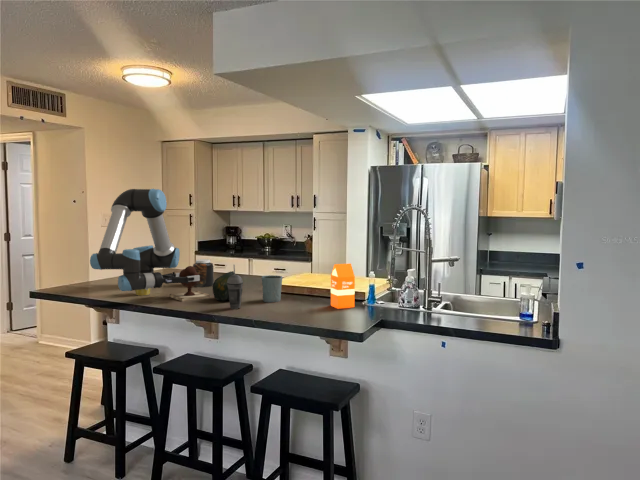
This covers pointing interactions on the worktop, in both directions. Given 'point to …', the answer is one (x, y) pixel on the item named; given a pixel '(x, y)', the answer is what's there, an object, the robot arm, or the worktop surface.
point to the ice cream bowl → (189, 272)
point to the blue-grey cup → (271, 288)
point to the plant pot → (143, 292)
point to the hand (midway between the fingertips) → (193, 276)
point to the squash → (222, 287)
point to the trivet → (186, 298)
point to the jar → (204, 272)
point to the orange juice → (342, 286)
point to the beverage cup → (235, 290)
